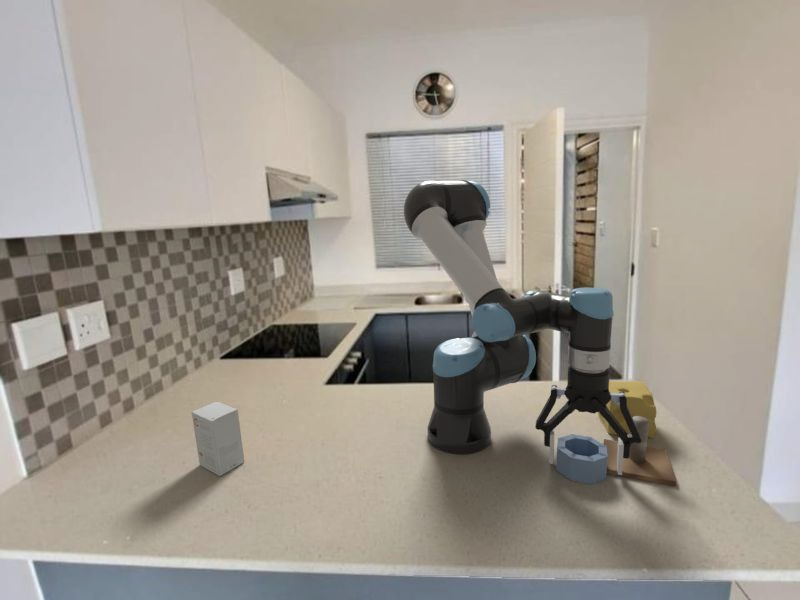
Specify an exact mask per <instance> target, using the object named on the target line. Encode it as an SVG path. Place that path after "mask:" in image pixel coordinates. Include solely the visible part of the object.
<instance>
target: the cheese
mask: <svg viewBox="0 0 800 600" xmlns="http://www.w3.org/2000/svg"><path fill="white" fill-rule="evenodd" d="M621 391H622V392H624V393H625V395H626V399H627V407H628V409H629V411H630V414H631V416H632V418H633V417H634V416H641V417H645V418H647V419H648V420H649V427H648V437H647V438H653V439H654V438H655V436H656V432H657V424H656V419H655V418H656V417H657V407H656V405H655V400H654V395H653V394H652V391H650V389H649V388H648V385H647V384H646V383H645V382H643V381H642V380H641V381H639V380H637V381H635V380H634V381H611V380H609V392H610V393H619V392H621ZM606 406H607V407H608V409H609V410H610V412H611V413H612V414H613V416H614V417H615V418H616V419H617V421H618V422H619V423H620V425H621V426H622V427H623V428H624V430H625V431H626V432H627V433H628V434H631V432H630V430H629V428H628V425H627V423H626V421H625V419H624V417H623V414H622V412H621V409H620V405H616V404H615V402H614V401H613V400H610V401H609V402H608V403H607V404H606ZM597 415H598V417H599V419H600V421H601V423H602V424H603V425H604V427H605V429H606V431H607V433H608V435H615V436H616V435H617V434H616V432H615V431H614V430H613V428H612V427H611V426H610V425H609V423H608V422H607V421H606V419H605V418H603V417H602V415H601V414H600V413H599V412H597ZM617 436H618V435H617Z"/></svg>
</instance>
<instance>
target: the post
mask: <svg viewBox="0 0 800 600" xmlns="http://www.w3.org/2000/svg"><path fill="white" fill-rule="evenodd" d="M633 420H634V423H635V425H636V427H637V429H638V432H639V434H640V438H641V442H640V443H636V442H635V443H631V446H630V454H629V458H628V459H627V458H623V467H622V475H618V473H617V450H618V440H612V439H606V438H605V439H603V444H604V445H605V446H606V447H607V456H608V458H607V471H606V475H607V474H608V475H613V476H619V477H624V478H630V479H636V480H641V481H646V482H651V483H656V484H657V483H658V484H661V485H662V484H663V485H667V486H674V487H676V486H677V485H676V484H677V479H676V477H675V473H674V471H673V469H672V466H671V462H670V460H669V458H668V454H667V452H666V449H665V448H662V447H657V446H650V445H647V444H648V438H649V437H648V427H649V420H648V419H647V418H645V417H641V416H634V417H633Z"/></svg>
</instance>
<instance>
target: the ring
mask: <svg viewBox="0 0 800 600" xmlns="http://www.w3.org/2000/svg"><path fill="white" fill-rule="evenodd" d="M607 458H608V456H607V447H606V446H605V445H604V443H602V442H600V441H599V440H597V439H595V438H593V437H592V436H588V435H587V436H586V435H582V434H580V435H579V434H574V433H573V434H572V433H571V434H568V435H567V434H566V435H564V436H561V437H558V438H557V445H556V459H555V460H556V461H555V462H556V464H555V470H556V472H557V471H558V472H559V473H560V474H561V475H562V476H564V477H565V478H566V479H568V480H570V481H574V482H578V483H584V484H589V485H592V484H595V483H599V482H601V481H604V480H606V479H607Z"/></svg>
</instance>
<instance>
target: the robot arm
mask: <svg viewBox="0 0 800 600" xmlns="http://www.w3.org/2000/svg"><path fill="white" fill-rule="evenodd" d="M403 204H404V205H403V217H404V220H405V224H406V226H407V228H408V230H409V231H410V232H411V234H412V235H413V236H414V238H415V239H417V240H420V241H422V242H423V243H424V244H425V246H426V247H427V249H428V250H429V251H430V253H431V254H432V255H433V257H434V258H435V259H436V261H437V262H438V264H439V265H440V266H441V268H442V269H443V270H444V272H445V273H446V274H447V275H448V277H449V278H450V279H451V281H452V282H453V283H454V285H455V286H456V288H457V289H458V291H459V292H460V293H461V294H462V296H463V298H465V300H466V301H467V304H468V306H469V307H468V308H469V310H470V314H471V324H472V326H474V327H473V328H474V329H473V330H474V331H473V333H472V335H471V337H462V338H459V337H456V338H451V339H448V340H446V341H443V342H441V343H440V344H438V345H437V347H436V348H435V350H434V353H433V360H432V361H433V362H432V371H433V404H434V405H433V409H432V413H431V415H430V418H429V421H428V424H427V439H428V441H429V443H430V444H431V445H432V446H433V447H434V448H435V449H438V450H440V451H442V452H446V453H451V454H458V455H460V454H462V455H463V454H465V455H466V454H473V453H476V452H479V451H482V450H484V449H485V448H487V447H488V446H489V444H490V443H491V441H492V429H491V426H490V423H489V419H488V416H487V413H486V410H485V408H484V406H485V405H484V403H485V401H484V398H485V392H488V391H491V390H493V389H494V390H495V389H498V388H500V387H504V386H507V385H509V384H510V385H511V384H516V383H518V382H520V381H521V380H523V379H525V378H528V377H529V376H530V375H531V373H532V372H533V369H534V368H535V365H536V361H537V355H536V353H537V352H536V349H535V345H534V343H533V341H532V340H531V339H530V338H528V336H527V335H529V334H533V333H538V332H541V331H545V330H551V331H557V332H561V333H565V334H568V351H567V353H568V355H567V356H568V357H567V358H568V359H567V361H568V362H567V363H568V364H569V365H568V367H567V381H566V382H567V383H566V387H565V388H564V387H558V386H557V385H556V384H552V385H551V389H550V395H549V397H548V399H547V400H546V402H545V405H544V406H543V408H542V409H541V412H540V413H539V415H538V417H537V418H536V420H535V429H536V430H540V431H543V435H544V436H543V445H544V447H546V448H547V447H548V448H549V461H548V463H549V464H550V465H551V464H552V465H553V464H554V459H555V458H554V457H555V455H554V454H555V429H556V428H557V427H558V426H559V425H560V424H561V423H562V422H563V421H564V420H565V419H566V418H567V417H568V416H569V415H570V414H572V413H573V412H575V410H576V411H578V412H579V413H580V412H581V413H586V412H587V413H589V414H593V415H594V414H595V415H596V413H598V412H599V413H600V414H601V415H602V417H603V418H605V419H606V421H607V422H608V423H609V425H610V426H611V427H612V428H613V430H614V431H615V432H616V434H617V436H618V437H617V441H618V450H617V473H618V475H622V467H623V458H627V459H628V458H629V454H630V446H631V443H635V442H636V443H640V442H641V438H640V434H639V432H638V429H637V427H636V425H635V423H634V420H633V418H632V416H631V414H630V411H629V409H628V407H627V399H626V395H625V393H624V392H622V391H621V392H619V393H610V392H609V381H610V370H609V368H611V349H612V348H611V345H612V344H611V343H612V327H613V326H612V325H613V317H614V311H613V309H614V308H613V306H614V305H613V304H614V303H613V301H614V300H613V298H614V297H613V294H612V293H611V291H610V290H607V289H605V288H602V287H601V288H599V287H589V286H588V287H577V288H573V289H572V290H571V291H570V295H565V294H562V293H561V294H559V293H554V292H549V291H546V290H530V291H527V292H525V294H524V295H522V296H521V297H518V298H512V297H511V296H510V294H509V293H508V291H506V290H505V288H504V287H503V286H502V285H501V283H500V282H499V281H498V278H497V275H496V272H495V268H494V266H493V262H492V259H491V255H490V251H489V247H488V245H487V241H486V238H485V235H484V230H485V228H486V226H487V219H488V218H489V215H490V210H489V209H490V208H491V200H490V197H489V194H488V192H487V191H486V188H484V186H482V185H481V184H480V183H477V182H476V181H471V180H464V179H461V180H426V181H424V182H423V181H422V182H420V183H418V184H417V185H415V186H414V187H413V188H412V189H411V190H410V191H409V192H408V194H407V197H406V198H405V201H404V203H403ZM562 396H565V397H566V399H567V401H566V402H565V404H564V405H563V406H562V407H561V408H560V409H559V410H558V411H557V412H556V413H554V415H552V417H551V418H550V419H549V420H547V418H548V417H549V415H550V413H552V410H553V408H554V406H555V404H556V402H557V399H561V398H562ZM610 400H613V401H614V402H615V404H616V405H620V409H621V412H622V414H623V417H624V419H625V421H626V423H627V425H628V428H629V430H630V432H631V433H630V434H628V433H627V432H626V431H625V430H624V428H623V427H622V426H621V425H620V423H619V422H618V421H617V419H616V418H615V417H614V416H613V414H612V413H611V412H610V410H609V409H608V407H607V406H606V404H607V403H608V402H609V401H610ZM546 420H547V422H546ZM618 475H617V476H618Z"/></svg>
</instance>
